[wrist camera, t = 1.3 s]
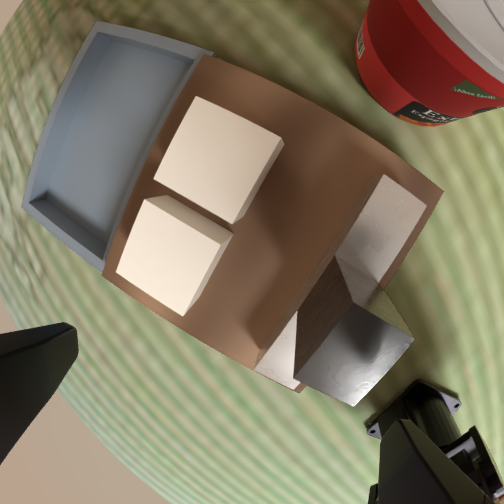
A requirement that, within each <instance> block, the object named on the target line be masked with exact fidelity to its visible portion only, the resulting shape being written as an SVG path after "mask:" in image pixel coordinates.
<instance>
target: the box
mask: <svg viewBox="0 0 504 504" xmlns="http://www.w3.org/2000/svg"><path fill="white" fill-rule="evenodd" d="M204 54H207V55H210V56H212V57H215V58H217V59H219V58H218V57H217V56H216V54H215V53H214V52H211V51H208V50H205V49H203V48H200V47H197V46H194V45H191V44H188V43H185V42H182V41H178V40H175V39H172V38H168V37H165V36H162V35H158V34H154V33H151V32H147V31H143V30H139V29H135V28H130V27H126V26H121V25H117V24H112V23H107V22H101V21H96V23H95V24H94V26H93V27H92V29H91V31H90V32H89V34H88V36H87V37H86V39H85V41H84V43H83V44H82V46H81V48H80V50H79V52H78V53H77V55H76V57H75V59H74V61H73V63H72V65H71V67H70V69H69V71H68V73H67V75H66V77H65V79H64V81H63V83H62V86H61V88H60V90H59V92H58V94H57V97H56V99H55V101H54V104H53V106H52V109H51V111H50V114H49V116H48V119H47V121H46V124H45V127H44V130H43V132H42V135H41V138H40V141H39V144H38V147H37V150H36V153H35V156H34V160H33V163H32V166H31V170H30V173H29V177H28V181H27V185H26V189H25V193H24V197H23V202H22V206H21V207H22V208H23V209H24V210H25V211H26V212H27V213H28V214H29V215H31V216H32V217H33V218H34V219H35V220H36V221H38V222H39V223H40V224H41V225H42V226H43V227H45V228H46V229H47V230H48V231H49V232H51V233H52V234H53V235H54V236H56V237H57V238H58V239H59V240H60V241H62V242H63V243H64V244H65V245H67V246H68V247H69V248H71V249H72V250H73V251H74V252H76V253H77V254H78V255H80V256H81V257H82V258H83V259H85V260H86V261H87V262H89V263H90V264H91V265H93V266H94V267H95V268H97V269H98V270H99V271H101V272H103V269H104V266H105V263H106V260H107V257H108V254H109V251H110V248H111V245H112V243H113V240H114V237H115V234H116V232H117V229H118V226H119V224H120V221H121V218H122V216H123V213H124V211H125V208H126V206H127V203H128V201H129V198H130V196H131V193H132V191H133V189H134V186H135V184H136V182H137V179H138V177H139V175H140V173H141V170H142V168H143V166H144V164H145V162H146V159H147V157H148V155H149V153H150V151H151V149H152V147H153V145H154V143H155V141H156V139H157V136H158V134H159V132H160V130H161V129H162V127H163V125H164V123H165V121H166V119H167V117H168V115H169V113H170V111H171V109H172V108H173V106H174V104H175V102H176V100H177V98H178V97H179V95H180V93H181V91H182V90H183V88H184V86H185V84H186V83H187V81H188V79H189V78H190V76H191V74H192V73H193V71H194V69H195V68H196V66H197V64H198V63H199V61H200V59H201V58H202V56H203V55H204Z"/></svg>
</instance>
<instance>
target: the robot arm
mask: <svg viewBox="0 0 504 504" xmlns="http://www.w3.org/2000/svg"><path fill="white" fill-rule="evenodd" d="M78 352H79V349H78V337H77V330H76V328H75V327H74V326H72V325H70V324H68V323H65V322H62V323H57V324H51V325H46V326H41V327H36V328H30V329H25V330H20V331H14V332H9V333H3V334H0V465H1V463H2V462H3V460H4V459H5V458H6V456H7V455H8V453H9V452H10V451H11V449H12V448H13V447H14V445H15V444H16V442H17V441H18V440H19V438H20V437H21V436H22V434H23V433H24V432H25V430H26V429H27V428H28V426H29V425H30V424H31V422H32V421H33V420H34V418H35V417H36V416H37V415H38V413H39V412H40V410H41V409H42V408H43V407H44V406H45V405H46V403H47V402H48V401H49V399H50V398H51V397H52V395H53V394H54V392H55V391H56V390H57V388H58V386H59V385H60V383H61V382H62V380H63V378H64V377H65V375H66V374H67V372H68V371H69V369H70V368H71V366H72V364H73V363H74V361H75V360H76V358H77V356H78ZM418 385H419V386H418ZM417 386H418V387H417ZM461 404H462V403H461V401H460V399H458V398H456V397H454V396H452V395H450V394H448V393H446V392H444V391H442V390H440V389H438V388H436V387H434V386H432V385H430V384H429V383H427V382H425V381H423V380H420V379H419V380H416V381H414V382H413V383H412V384H411V385H410V386H409V388H408V389H407V390H406V391H405V392H404V393H403V394H402V395H401V396H400V397H399V398H398V399H397V400H396V401H395V402H394V403H393V404H392V405H391V406H390V407H389V408H388V409H387V410H386V411H385V412H384V413H383V414H381V415H380V416H379V417H378V418H377V419H376V420H375V421H374V422H373V423H372V424H371V425H369V426H368V427H367V434H368V435H370V436H373V437H376V438H378V439H381V443H380V462H379V480H378V483H377V484H374V485H372V486H371V487H370V493H369V500H368V504H500V502H499V499H498V498H499V497H500V496H502V495H503V494H504V483H503V481H502V478H501V475H500V473H499V470H498V468H497V465H496V463H495V461H494V459H493V457H492V455H491V453H490V451H489V449H488V447H487V445H486V443H485V441H484V440H483V438H482V436H481V435H480V433H479V431H478V430H477V428H476V426H475V425H474V426H473V427H471V428H470V429H469V431H468V432H466V433H465V434H464V435H461V433H460V431H459V429H458V427H457V424H456V422H455V420H454V418H453V416H452V415H453V414H454V413H455V412H456V411H457V410H458V408H459V407H460V406H461Z"/></svg>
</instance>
